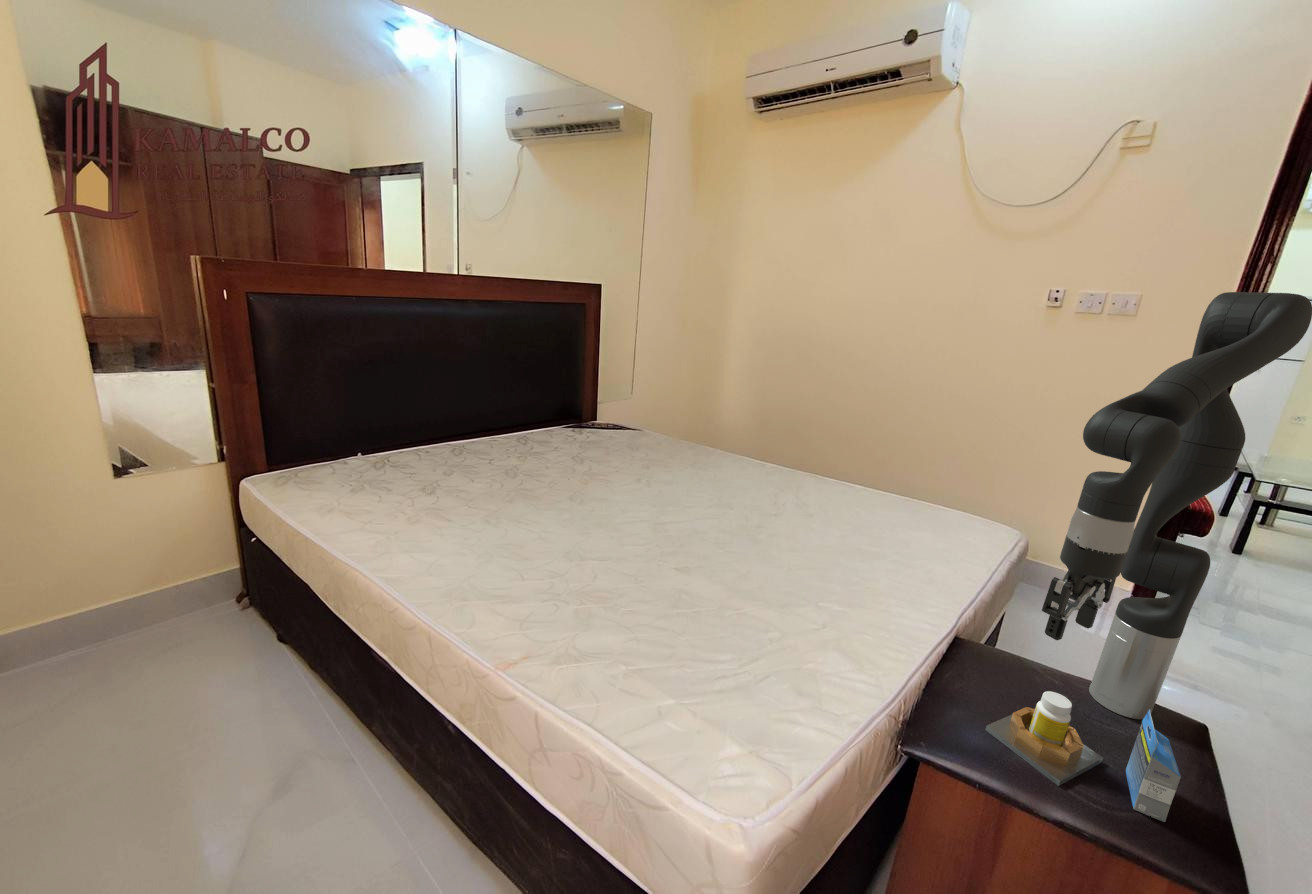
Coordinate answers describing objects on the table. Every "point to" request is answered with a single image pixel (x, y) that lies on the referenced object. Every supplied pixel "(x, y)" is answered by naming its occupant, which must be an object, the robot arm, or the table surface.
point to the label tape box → (1152, 772)
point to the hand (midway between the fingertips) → (1068, 631)
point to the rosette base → (1042, 764)
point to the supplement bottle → (1051, 718)
